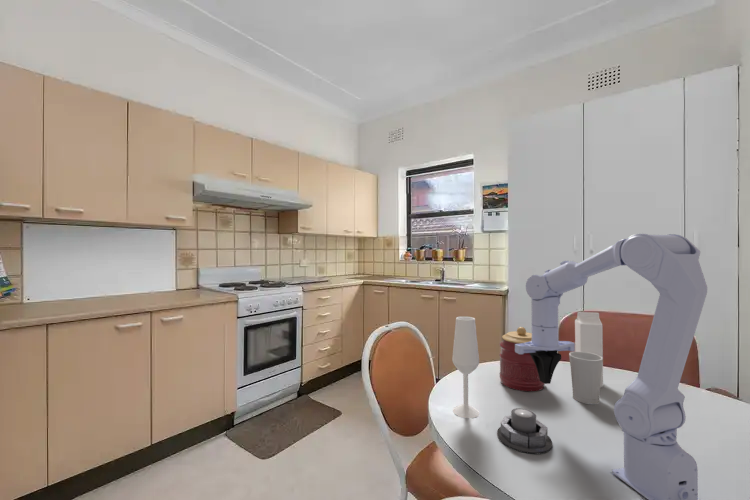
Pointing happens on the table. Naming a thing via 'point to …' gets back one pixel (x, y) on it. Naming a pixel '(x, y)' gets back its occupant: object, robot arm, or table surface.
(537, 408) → the table surface
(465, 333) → the champagne flute
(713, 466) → the table surface
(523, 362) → the canister
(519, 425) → the cap
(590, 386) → the cup
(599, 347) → the milk
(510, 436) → the socket
